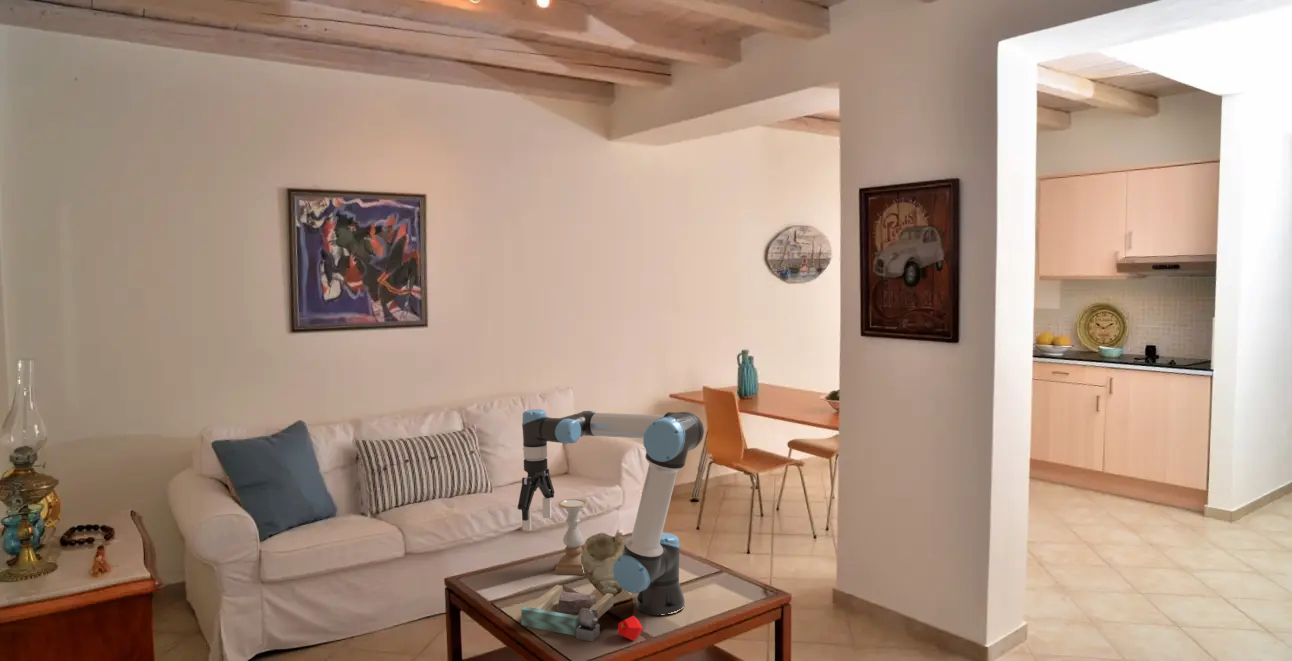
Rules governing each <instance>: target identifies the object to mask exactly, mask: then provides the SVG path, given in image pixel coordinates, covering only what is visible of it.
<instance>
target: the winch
mask: <svg viewBox="0 0 1292 661" xmlns="http://www.w3.org/2000/svg"><path fill="white" fill-rule="evenodd" d="M577 616H578V624H579V626H578V627H577V628H576V636H575V637H576V639H577V640H582V641H587V642H593V641H594V640H595V639H596V638H597V637H598V636H600V634H601V633H600V632H601V630H600V629H601V628H600V626H601V625H600V624H599V623H598V621H599V618H598V612H597V610H593V609H587V608H582V609H581V610H580V612H579V613H578V615H577Z"/></svg>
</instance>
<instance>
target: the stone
mask: <svg viewBox="0 0 1292 661" xmlns="http://www.w3.org/2000/svg"><path fill="white" fill-rule="evenodd" d="M596 600H597V599H596V596H595V595H593V594H586V593H580V592H568V591H563V592H561V595H560V599H559V600H558V601H557V606H556V610H557V611H556V612H558V613H563V614H574V613H577V614H579V612H580V610H581V609H582V608H587V609H590V608H591V607H592V606H593V605H595V604H596V603H597V601H596Z"/></svg>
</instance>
